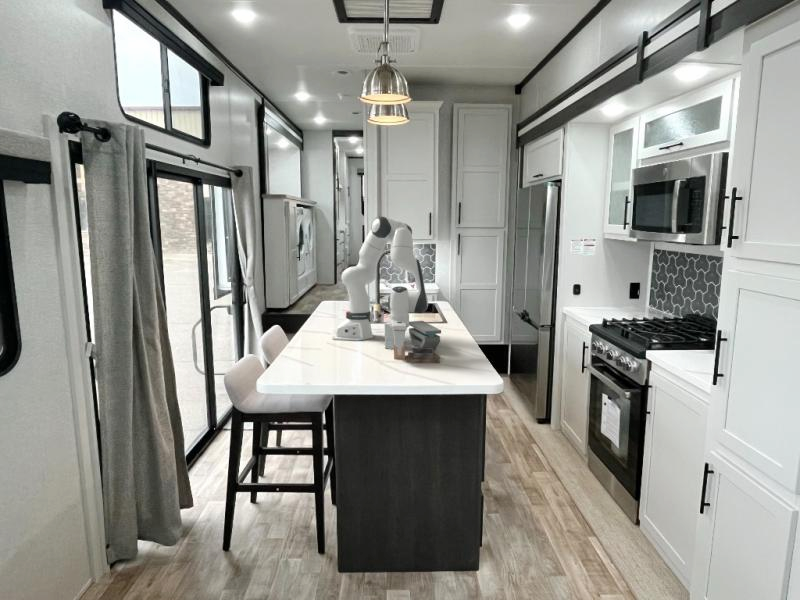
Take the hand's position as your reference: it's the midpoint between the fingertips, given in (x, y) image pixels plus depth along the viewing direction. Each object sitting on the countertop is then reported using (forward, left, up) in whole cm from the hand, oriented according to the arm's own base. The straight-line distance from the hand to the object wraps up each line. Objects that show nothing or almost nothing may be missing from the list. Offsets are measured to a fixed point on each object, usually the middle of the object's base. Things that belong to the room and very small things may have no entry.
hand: (399, 351), depth 228 cm
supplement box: (-3, +19, -3) cm, 19 cm away
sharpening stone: (+12, +20, -3) cm, 24 cm away
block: (0, 0, -3) cm, 3 cm away
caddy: (+11, -2, -3) cm, 11 cm away
